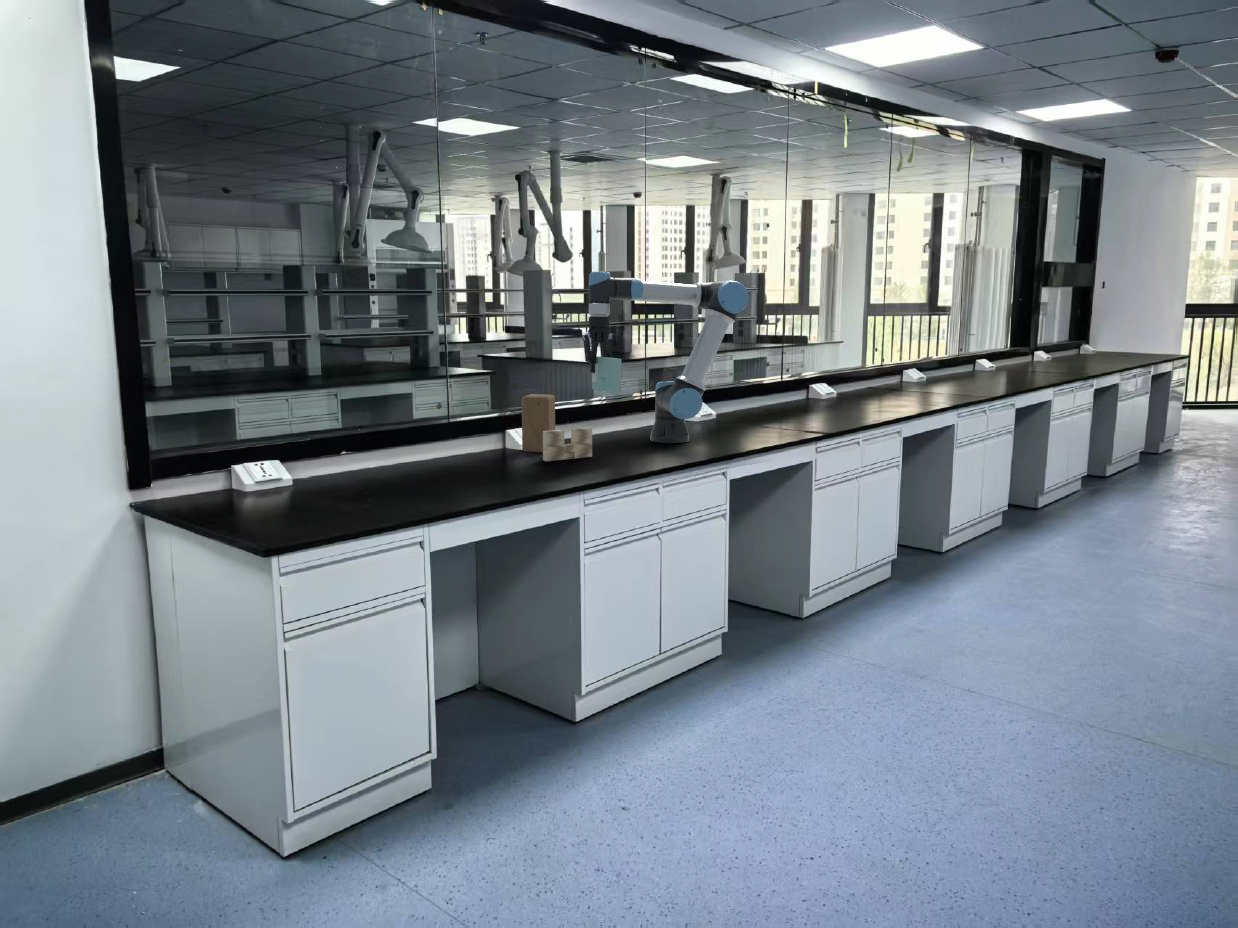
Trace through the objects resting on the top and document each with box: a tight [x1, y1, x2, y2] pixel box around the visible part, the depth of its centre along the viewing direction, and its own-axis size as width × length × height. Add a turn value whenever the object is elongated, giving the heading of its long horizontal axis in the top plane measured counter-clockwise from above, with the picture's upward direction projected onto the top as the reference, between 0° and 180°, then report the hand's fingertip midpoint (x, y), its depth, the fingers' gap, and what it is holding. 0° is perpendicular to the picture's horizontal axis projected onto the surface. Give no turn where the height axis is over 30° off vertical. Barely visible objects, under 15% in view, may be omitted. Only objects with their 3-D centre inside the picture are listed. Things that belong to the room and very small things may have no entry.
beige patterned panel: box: [542, 427, 593, 462], centre depth 305 cm, size 18×2×10 cm, turn 122°
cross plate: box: [591, 355, 622, 395], centre depth 316 cm, size 16×2×12 cm, turn 32°
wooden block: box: [521, 393, 556, 454], centre depth 320 cm, size 10×10×20 cm
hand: (598, 381), depth 321 cm, fingers closed on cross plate, 2 cm apart
